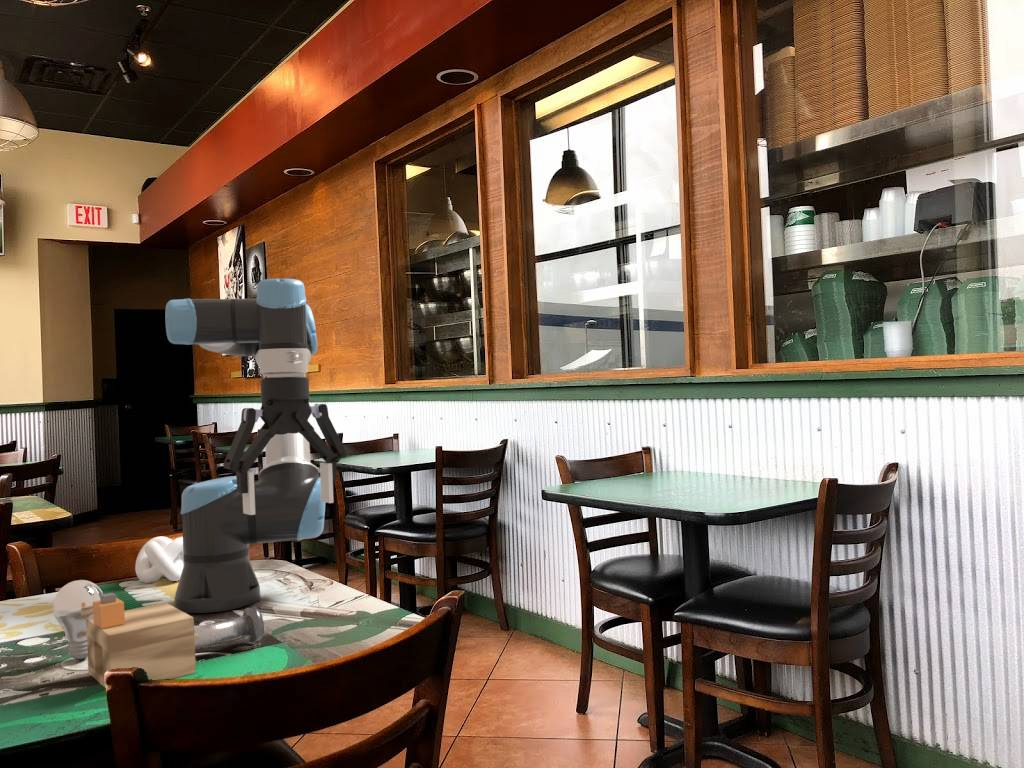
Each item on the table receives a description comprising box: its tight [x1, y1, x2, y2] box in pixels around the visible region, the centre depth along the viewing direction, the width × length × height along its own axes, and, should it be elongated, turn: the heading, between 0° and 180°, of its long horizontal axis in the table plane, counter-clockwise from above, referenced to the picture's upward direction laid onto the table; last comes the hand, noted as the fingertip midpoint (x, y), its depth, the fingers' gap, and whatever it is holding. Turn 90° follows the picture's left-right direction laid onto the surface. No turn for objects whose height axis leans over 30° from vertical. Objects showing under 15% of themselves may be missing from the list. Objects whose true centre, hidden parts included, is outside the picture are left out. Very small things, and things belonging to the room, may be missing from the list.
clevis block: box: [86, 602, 197, 688], centre depth 115 cm, size 12×11×8 cm
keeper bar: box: [93, 592, 125, 629], centre depth 113 cm, size 4×3×4 cm
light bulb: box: [52, 579, 104, 662], centre depth 122 cm, size 7×7×12 cm
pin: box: [194, 606, 265, 649], centre depth 122 cm, size 5×13×5 cm, turn 131°
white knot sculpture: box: [134, 535, 184, 584], centre depth 174 cm, size 11×12×9 cm
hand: (289, 508), depth 130 cm, fingers open, 13 cm apart
